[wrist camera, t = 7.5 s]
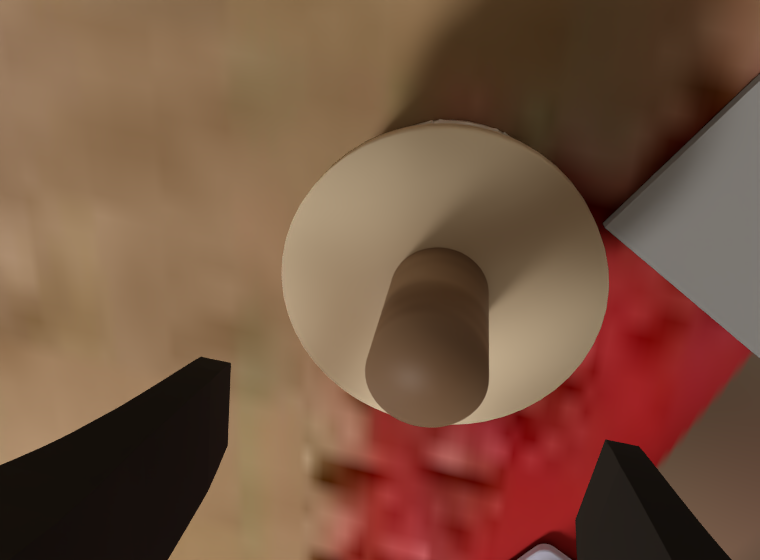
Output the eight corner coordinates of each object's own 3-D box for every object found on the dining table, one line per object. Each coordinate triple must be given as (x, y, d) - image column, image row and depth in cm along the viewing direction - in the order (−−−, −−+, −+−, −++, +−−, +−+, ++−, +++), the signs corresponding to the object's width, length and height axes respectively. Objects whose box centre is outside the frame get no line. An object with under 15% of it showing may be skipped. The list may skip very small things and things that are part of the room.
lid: (675, 274, 17) (740, 378, 12) (451, 454, 20) (442, 583, 16) (426, 47, 15) (402, 76, 11) (233, 285, 19) (157, 376, 15)
